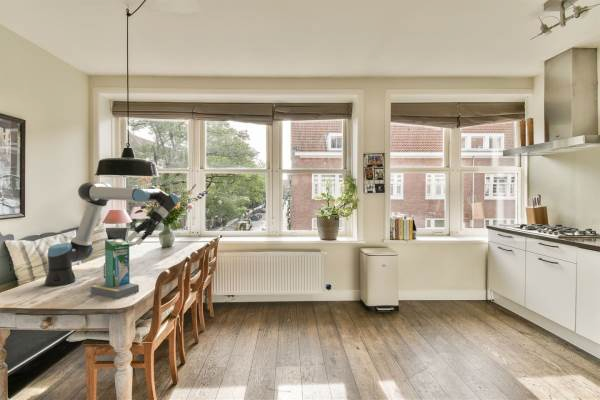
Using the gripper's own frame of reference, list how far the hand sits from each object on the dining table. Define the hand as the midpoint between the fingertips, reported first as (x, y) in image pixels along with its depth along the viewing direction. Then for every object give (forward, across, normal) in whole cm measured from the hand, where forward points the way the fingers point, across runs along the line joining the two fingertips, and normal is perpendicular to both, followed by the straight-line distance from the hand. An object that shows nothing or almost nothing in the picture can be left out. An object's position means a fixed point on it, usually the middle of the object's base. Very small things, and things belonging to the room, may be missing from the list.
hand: (132, 242), depth 190 cm
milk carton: (+22, +4, -12) cm, 25 cm away
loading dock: (+26, 0, -13) cm, 29 cm away
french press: (+21, +24, -18) cm, 37 cm away
